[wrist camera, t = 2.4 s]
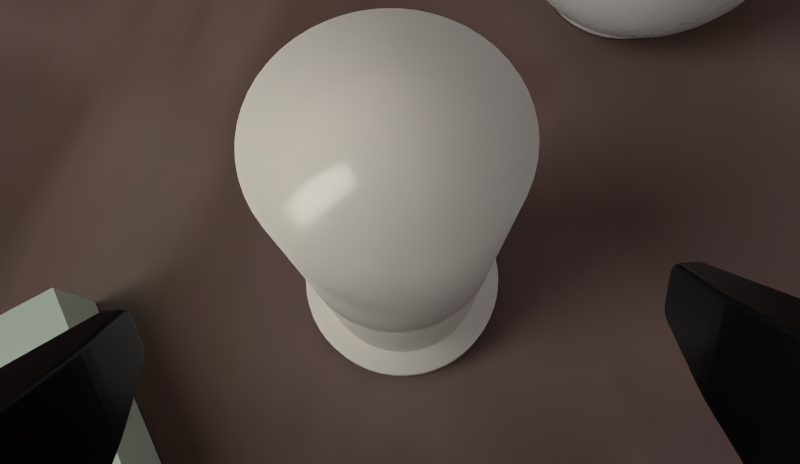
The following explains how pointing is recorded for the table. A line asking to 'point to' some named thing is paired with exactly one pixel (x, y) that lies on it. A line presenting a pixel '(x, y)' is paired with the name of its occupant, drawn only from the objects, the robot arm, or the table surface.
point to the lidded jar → (640, 16)
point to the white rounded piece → (390, 179)
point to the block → (48, 319)
